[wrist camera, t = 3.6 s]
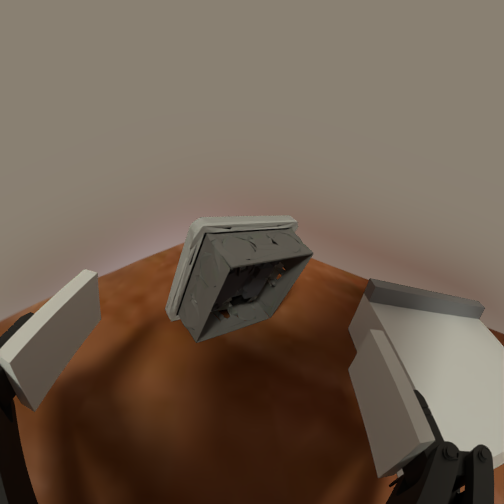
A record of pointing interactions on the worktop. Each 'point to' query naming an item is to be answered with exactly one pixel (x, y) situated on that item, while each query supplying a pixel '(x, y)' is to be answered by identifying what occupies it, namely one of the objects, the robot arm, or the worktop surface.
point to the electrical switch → (234, 272)
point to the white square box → (442, 359)
